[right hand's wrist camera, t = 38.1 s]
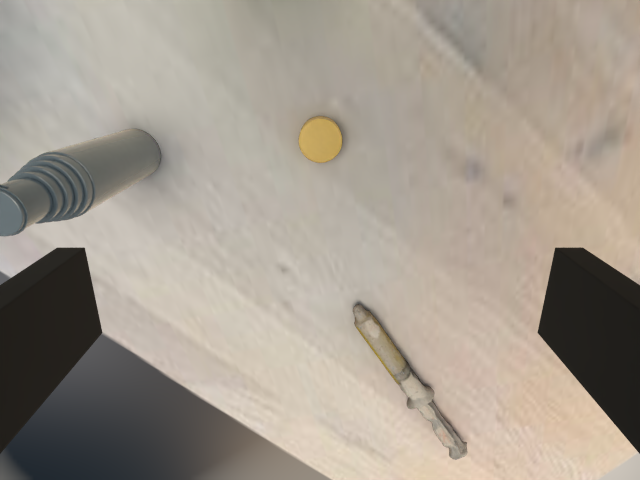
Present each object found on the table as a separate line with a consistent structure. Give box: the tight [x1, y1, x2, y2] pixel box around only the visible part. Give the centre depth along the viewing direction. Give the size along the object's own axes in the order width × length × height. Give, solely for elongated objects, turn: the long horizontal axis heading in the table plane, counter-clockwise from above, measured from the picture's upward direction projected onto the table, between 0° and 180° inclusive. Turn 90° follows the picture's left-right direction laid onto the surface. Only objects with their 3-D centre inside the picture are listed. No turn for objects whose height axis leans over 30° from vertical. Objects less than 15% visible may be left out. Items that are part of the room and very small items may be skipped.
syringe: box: [353, 304, 467, 460], centre depth 52 cm, size 25×4×3 cm, turn 31°
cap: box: [299, 116, 342, 163], centre depth 42 cm, size 4×4×2 cm
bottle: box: [0, 129, 161, 236], centre depth 34 cm, size 5×5×20 cm
